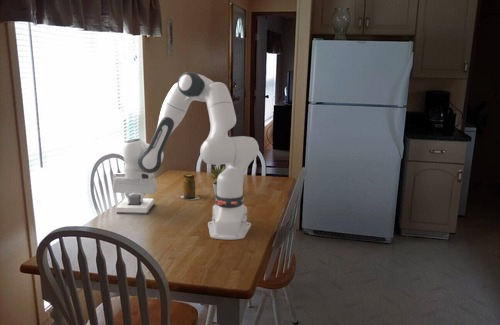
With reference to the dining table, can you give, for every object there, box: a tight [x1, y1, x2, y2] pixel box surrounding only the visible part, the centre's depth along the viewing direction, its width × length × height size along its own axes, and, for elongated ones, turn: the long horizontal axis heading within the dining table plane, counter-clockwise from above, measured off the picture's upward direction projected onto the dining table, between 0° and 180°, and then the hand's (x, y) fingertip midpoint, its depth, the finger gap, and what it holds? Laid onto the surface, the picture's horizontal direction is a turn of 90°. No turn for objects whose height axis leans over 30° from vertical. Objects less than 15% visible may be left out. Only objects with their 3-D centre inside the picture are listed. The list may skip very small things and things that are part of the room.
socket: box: [115, 197, 155, 215], centre depth 211 cm, size 14×14×3 cm
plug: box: [130, 193, 142, 205], centre depth 211 cm, size 5×4×5 cm
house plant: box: [207, 164, 228, 196], centre depth 232 cm, size 14×14×16 cm
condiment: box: [179, 173, 200, 201], centre depth 228 cm, size 7×8×12 cm
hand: (135, 201), depth 211 cm, fingers closed on plug, 4 cm apart
